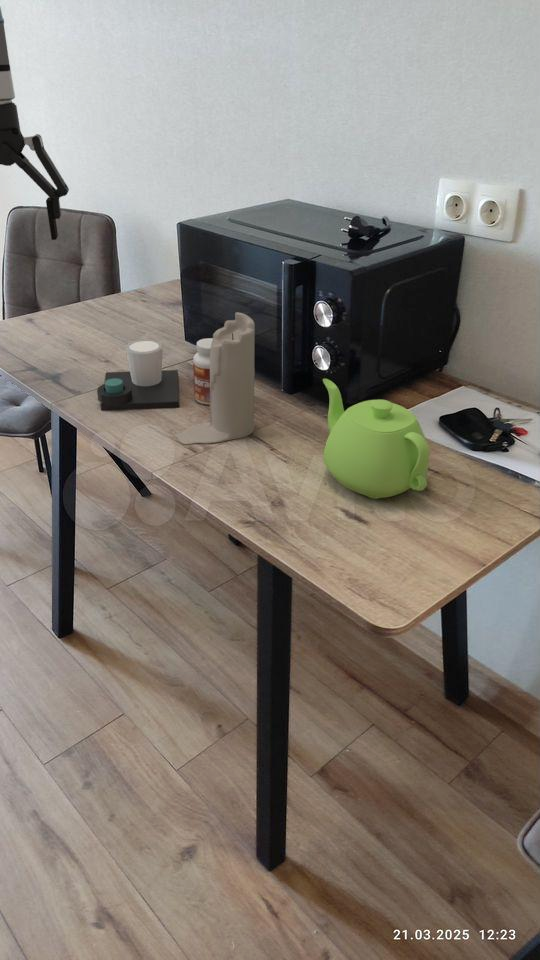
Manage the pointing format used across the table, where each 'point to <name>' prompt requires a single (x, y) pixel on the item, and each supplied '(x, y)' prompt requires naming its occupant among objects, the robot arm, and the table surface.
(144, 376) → the white cup
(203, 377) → the pill bottle
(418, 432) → the teapot
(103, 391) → the scale
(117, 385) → the button
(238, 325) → the candle
